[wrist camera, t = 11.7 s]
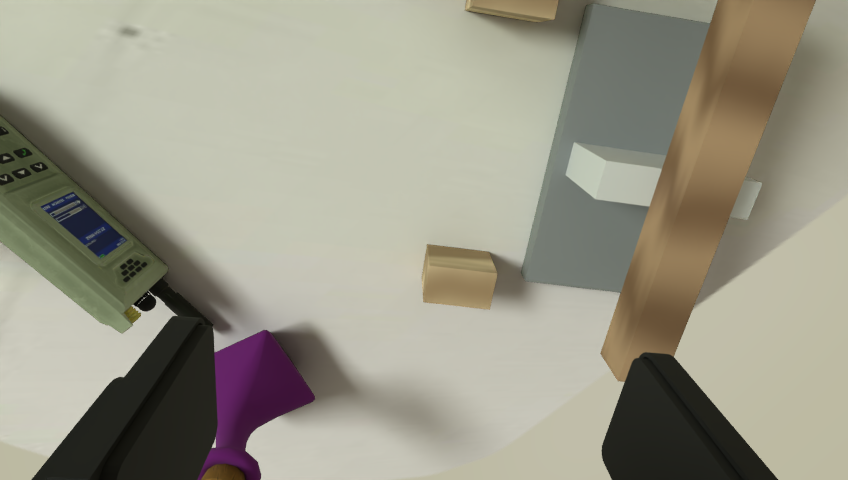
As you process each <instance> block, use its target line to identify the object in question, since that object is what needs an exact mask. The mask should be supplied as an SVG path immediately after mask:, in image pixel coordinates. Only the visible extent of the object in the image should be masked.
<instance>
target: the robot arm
mask: <svg viewBox="0 0 848 480" xmlns="http://www.w3.org/2000/svg"><path fill="white" fill-rule="evenodd" d="M217 427H218V418H217V397H216V376H215V355H214V334H213V328H212V326H209V325H205V322H204V320H203V319H202V318H196V317H183V316H173V317H172V318H171V319H170V320H169V321H168V322H167V323H166V325H165V326H164V327H163V329H162V330H161V331H160V332H159V334H158V335H157V336H156V338H155V339H154V340H153V341H152V343H151V344H150V345H149V346H148V348H147V349H146V350H145V352H144V353H143V354H142V355H141V357H140V358H139V359H138V361H137V362H136V363H135V364H134V366H133V367H132V368H131V370H130V371H129V372H128V373H127V375H126V376H125V377H118V378H116V379H114V380H113V381H112V382H111V383H110V384H109V385H108V386H107V387H106V388H105V390H104V391H103V392H102V393H101V395H100V396H99V397H98V398H97V399H96V401H95V402H94V403H93V404H92V406H91V407H90V408H89V409H88V411H87V412H86V413H85V414H84V416H83V417H82V418H81V419H80V420H79V422H78V423H77V424H76V425H75V427H74V428H73V429H72V430H71V432H70V433H69V434H68V435H67V436H66V438H65V439H64V440H63V441H62V443H61V444H60V445H59V446H58V448H57V449H56V450H55V451H54V453H53V454H52V455H51V456H50V457H49V459H48V460H47V461H46V463H45V464H44V465H43V466H42V467H41V469H40V470H39V471H38V472H37V474H36V475H35V476H34V477H33V479H32V480H197V479H198V477H199V475H200V472H201V470H202V468H203V466H204V463H205V461H206V459H207V457H208V454H209V452H210V450H211V448H212V445H213V443H214V440H215V437H216V433H217ZM602 458H603V461H604V464H605V466H606V468H607V470H608V472H609V474H610V476H611V478H612V480H778V479H777V478H776V477H775V475H774V474H773V473H772V472H771V471H770V470H769V468H768V467H767V466H766V465H765V464H764V462H763V461H762V460H761V459H760V458H759V457H758V455H757V454H756V453H755V452H754V451H753V450H752V448H751V447H750V446H749V445H748V444H747V443H746V441H745V440H744V439H743V438H742V437H741V435H740V434H739V433H738V432H737V431H736V430H735V428H734V427H733V426H732V425H731V424H730V423H729V421H728V420H727V419H726V418H725V417H724V416H723V414H722V413H721V412H720V411H719V410H718V408H717V407H716V406H715V405H714V404H713V403H712V402H711V400H710V399H709V398H708V397H707V396H706V394H705V393H704V392H703V391H702V390H701V389H700V387H699V386H698V385H697V384H696V383H695V381H694V380H693V379H692V378H691V377H690V376H689V374H688V373H687V372H686V371H685V370H684V369H683V367H682V366H681V365H680V364H679V363H678V362H677V360H676V359H675V358H674V357H673V356H672V355H670V354H663V353H650V352H645V353H642V354H641V355H640V356H639V358H635V359H634V360H633V361H632V363H631V366H630V369H629V372H628V375H627V377H626V380H625V383H624V386H623V389H622V392H621V394H620V397H619V400H618V403H617V406H616V408H615V411H614V414H613V417H612V419H611V422H610V425H609V428H608V431H607V433H606V436H605V439H604V442H603V445H602Z"/></svg>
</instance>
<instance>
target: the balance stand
mask: <svg viewBox="0 0 848 480" xmlns="http://www.w3.org/2000/svg"><path fill="white" fill-rule="evenodd" d="M709 26H710V23H704V22H699V21H693V20H687V19H681V18H675V17H669V16H664V15H658V14H652V13H646V12H640V11H634V10H629V9H623V8H617V7H611V6H605V5H599V4H590V5H586V8H585V12H584V16H583V20H582V25H581V29H580V33H579V37H578V41H577V45H576V49H575V53H574V57H573V62H572V66H571V70H570V74H569V78H568V82H567V86H566V90H565V94H564V99H563V103H562V107H561V111H560V115H559V119H558V123H557V127H556V132H555V136H554V140H553V144H552V148H551V152H550V156H549V160H548V164H547V169H546V173H545V177H544V181H543V185H542V189H541V193H540V197H539V201H538V206H537V210H536V214H535V218H534V222H533V226H532V230H531V234H530V238H529V243H528V247H527V251H526V255H525V259H524V263H523V267H522V271H521V274H522V276H523V278H524V280H525V281H527V282H536V283H544V284H553V285H561V286H570V287H578V288H586V289H595V290H603V291H612V292H620V293H621V291H622V288H623V285H624V282H625V278H626V275H627V272H628V269H629V266H630V263H631V260H632V257H633V254H634V251H635V248H636V245H637V242H638V239H639V236H640V233H641V230H642V227H643V224H644V221H645V218H646V215H647V212H648V209H649V206H650V203H651V200H652V197H653V194H654V191H655V188H656V185H657V182H658V179H659V176H660V173H661V170H662V167H663V164H664V161H665V158H666V155H667V152H668V149H669V146H670V143H671V140H672V137H673V134H674V131H675V128H676V125H677V122H678V119H679V116H680V113H681V110H682V107H683V104H684V101H685V98H686V95H687V92H688V89H689V86H690V83H691V80H692V77H693V74H694V71H695V68H696V65H697V62H698V59H699V56H700V53H701V50H702V47H703V44H704V41H705V38H706V35H707V32H708V29H709ZM761 186H762V183H761V182H759V181H756V180H753V179H751V178H748V177H745V179H744V182H743V184H742V187H741V189H740V192H739V194H738V197H737V199H736V202H735V204H734V207H733V209H732V212H731V214H730V217H731V218H738V219H745V220H748V217H749V215H750V213H751V210H752V208H753V205H754V203H755V200H756V198H757V196H758V193H759V191H760V188H761Z"/></svg>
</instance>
